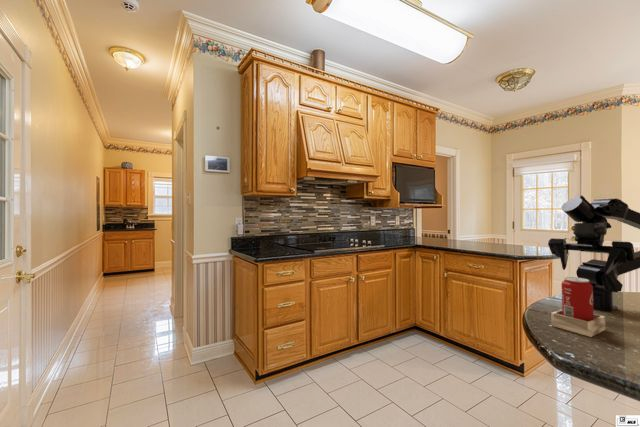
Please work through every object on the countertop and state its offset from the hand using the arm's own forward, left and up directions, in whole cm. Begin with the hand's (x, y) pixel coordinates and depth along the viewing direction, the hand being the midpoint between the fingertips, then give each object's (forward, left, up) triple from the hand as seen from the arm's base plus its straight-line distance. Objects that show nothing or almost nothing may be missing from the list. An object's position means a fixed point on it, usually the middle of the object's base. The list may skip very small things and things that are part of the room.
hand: (583, 271), depth 85 cm
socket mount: (+11, +2, -14) cm, 17 cm away
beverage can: (+10, +2, -13) cm, 17 cm away
